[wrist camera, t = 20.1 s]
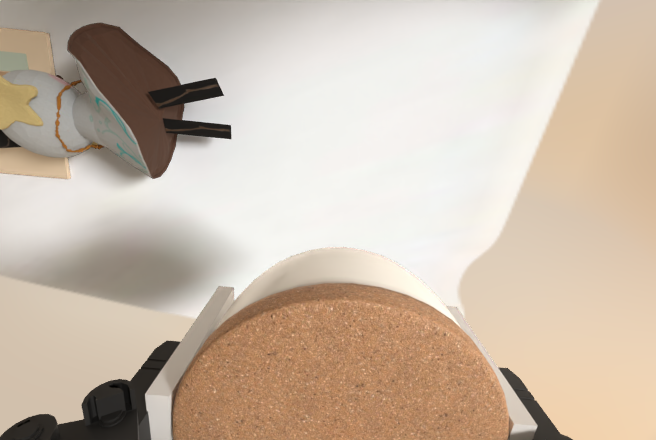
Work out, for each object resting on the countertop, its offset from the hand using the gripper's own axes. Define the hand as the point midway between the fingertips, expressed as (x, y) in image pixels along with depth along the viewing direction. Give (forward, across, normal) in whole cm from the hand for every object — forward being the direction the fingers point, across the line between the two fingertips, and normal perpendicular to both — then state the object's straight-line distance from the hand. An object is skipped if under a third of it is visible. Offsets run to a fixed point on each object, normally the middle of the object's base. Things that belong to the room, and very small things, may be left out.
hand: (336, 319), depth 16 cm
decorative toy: (+17, +20, -8) cm, 28 cm away
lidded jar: (+1, 0, 0) cm, 1 cm away
